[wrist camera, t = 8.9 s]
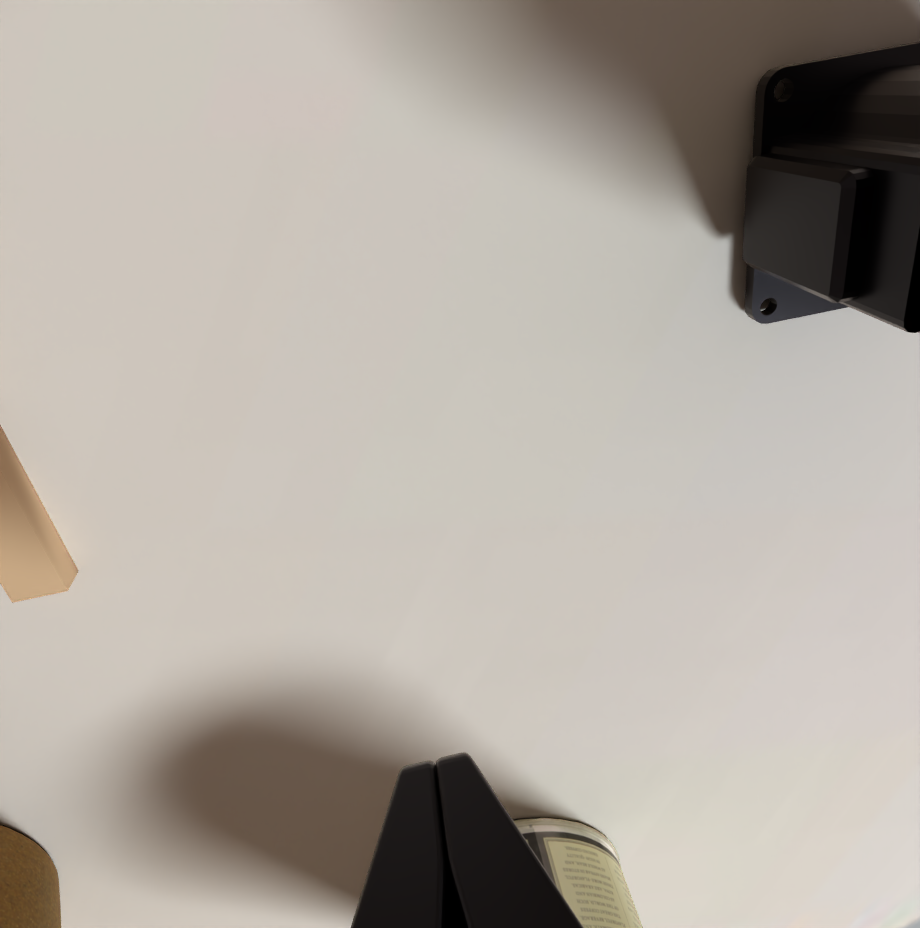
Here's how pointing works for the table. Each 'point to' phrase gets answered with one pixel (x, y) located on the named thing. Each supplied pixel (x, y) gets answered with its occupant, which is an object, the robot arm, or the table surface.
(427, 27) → the table surface
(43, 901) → the plant pot
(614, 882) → the coffee can
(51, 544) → the wooden turner
